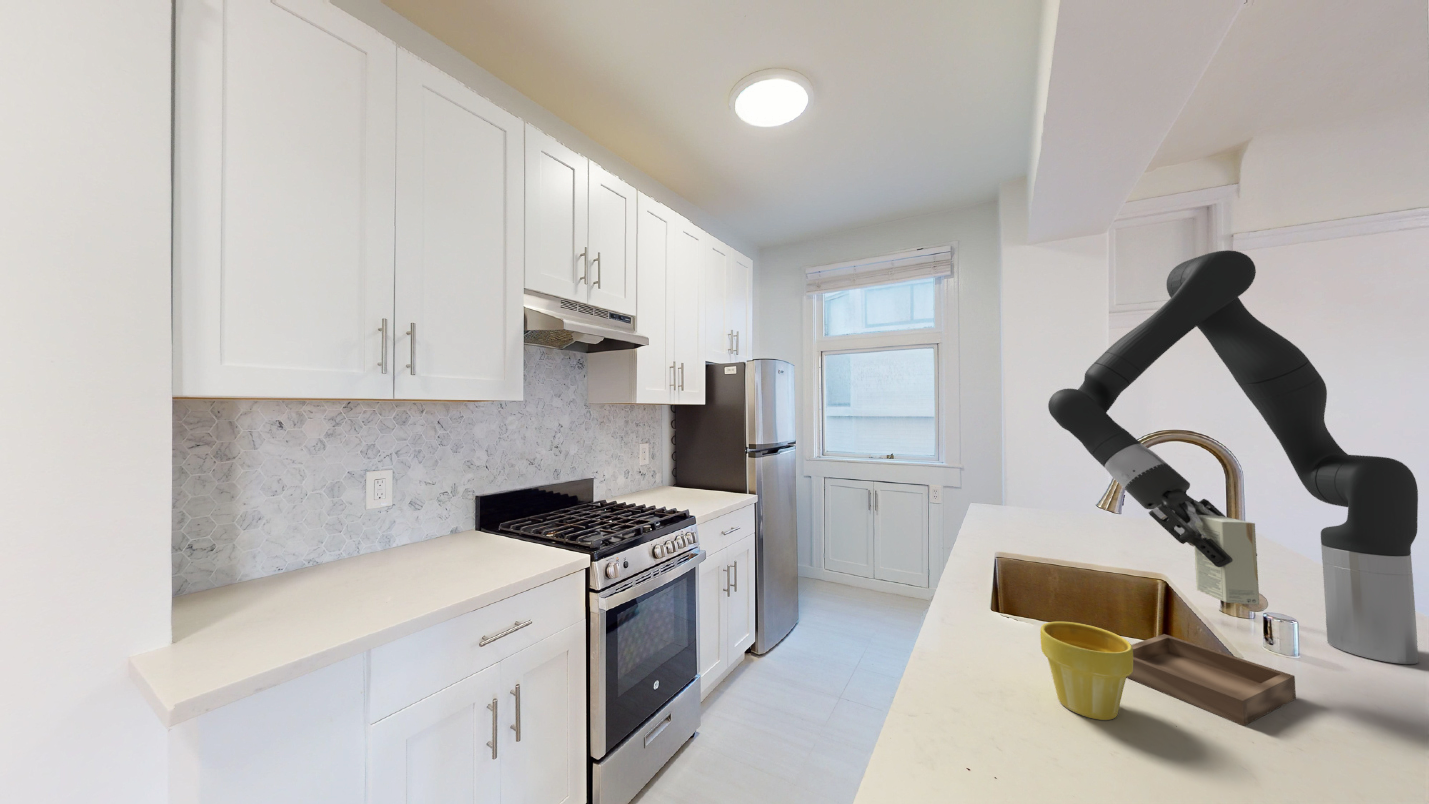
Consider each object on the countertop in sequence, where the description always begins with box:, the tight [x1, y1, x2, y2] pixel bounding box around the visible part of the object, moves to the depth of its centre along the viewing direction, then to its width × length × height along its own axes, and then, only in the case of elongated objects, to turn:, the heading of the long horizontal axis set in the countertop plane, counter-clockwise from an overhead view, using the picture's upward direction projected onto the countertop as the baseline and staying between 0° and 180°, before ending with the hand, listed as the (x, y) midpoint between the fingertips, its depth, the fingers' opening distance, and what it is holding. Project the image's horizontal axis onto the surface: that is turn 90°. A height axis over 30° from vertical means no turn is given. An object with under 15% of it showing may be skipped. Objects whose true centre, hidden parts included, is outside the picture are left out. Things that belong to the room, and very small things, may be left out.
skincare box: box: [1194, 515, 1260, 606], centre depth 75 cm, size 6×4×12 cm
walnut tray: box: [1126, 633, 1297, 727], centre depth 73 cm, size 15×15×3 cm
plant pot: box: [1039, 621, 1133, 721], centre depth 68 cm, size 10×10×10 cm
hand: (1238, 561), depth 74 cm, fingers closed on skincare box, 7 cm apart
